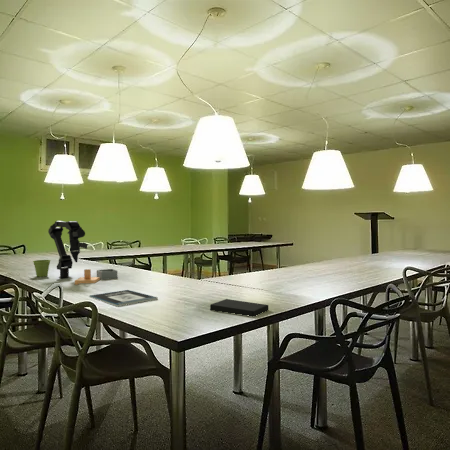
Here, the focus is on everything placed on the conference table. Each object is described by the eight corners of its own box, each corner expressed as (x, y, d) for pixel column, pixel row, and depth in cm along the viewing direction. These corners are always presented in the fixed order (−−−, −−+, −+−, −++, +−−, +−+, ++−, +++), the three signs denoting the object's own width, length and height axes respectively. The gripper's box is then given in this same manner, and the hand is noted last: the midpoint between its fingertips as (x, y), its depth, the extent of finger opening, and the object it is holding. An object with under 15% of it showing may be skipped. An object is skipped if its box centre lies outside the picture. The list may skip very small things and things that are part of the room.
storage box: (96, 278, 270) (96, 270, 270) (112, 277, 276) (112, 268, 276) (101, 280, 261) (101, 272, 261) (117, 279, 267) (117, 270, 267)
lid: (80, 281, 260) (80, 268, 260) (99, 280, 261) (99, 268, 261) (74, 284, 248) (74, 271, 247) (94, 284, 249) (94, 271, 248)
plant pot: (30, 276, 281) (29, 260, 280) (46, 274, 289) (46, 259, 289) (37, 278, 273) (36, 262, 272) (53, 276, 282) (53, 260, 281)
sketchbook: (127, 292, 227) (127, 288, 227) (158, 301, 204) (158, 296, 203) (89, 297, 211) (89, 293, 211) (118, 308, 188) (118, 303, 188)
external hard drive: (253, 318, 169) (253, 311, 169) (210, 310, 181) (210, 304, 181) (268, 311, 181) (268, 304, 181) (226, 304, 193) (226, 298, 193)
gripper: (86, 236, 259) (88, 260, 258) (86, 239, 277) (88, 261, 275) (68, 238, 255) (70, 262, 254) (69, 241, 273) (71, 263, 271)
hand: (76, 262), depth 264 cm, fingers open, 9 cm apart
